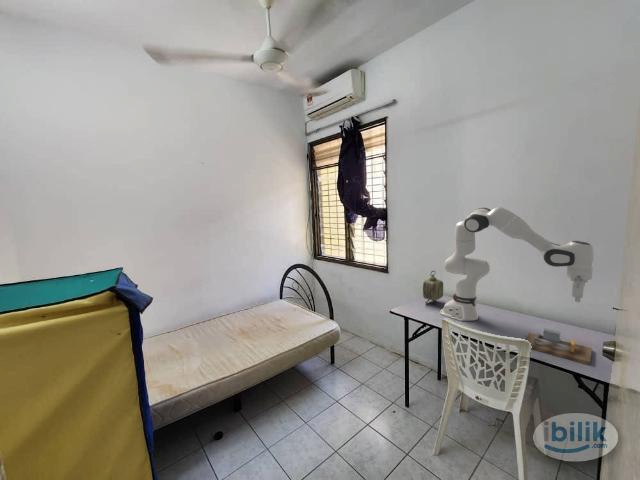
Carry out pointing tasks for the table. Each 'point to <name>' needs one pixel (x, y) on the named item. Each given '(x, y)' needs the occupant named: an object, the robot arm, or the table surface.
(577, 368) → the table surface
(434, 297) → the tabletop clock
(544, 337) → the module
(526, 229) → the robot arm
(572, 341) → the latch gate
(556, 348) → the rail base
